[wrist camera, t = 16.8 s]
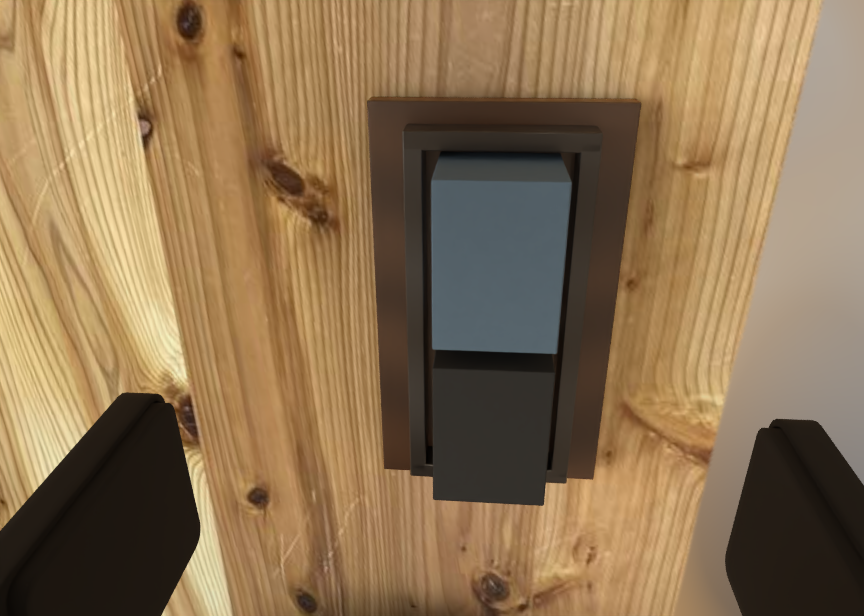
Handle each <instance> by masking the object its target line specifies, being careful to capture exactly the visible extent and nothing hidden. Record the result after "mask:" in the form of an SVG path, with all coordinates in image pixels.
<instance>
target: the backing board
mask: <svg viewBox="0 0 864 616" xmlns="http://www.w3.org/2000/svg"><path fill="white" fill-rule="evenodd" d="M367 108H368V130H369V151H370V173H371V194H372V216H373V238H374V259H375V281H376V303H377V324H378V346H379V368H380V389H381V411H382V433H383V454H384V469H398V470H410V474H411V475H412V476H429V477H433V390H432V368H433V362H434V356H435V349H433V348H432V232H431V180H432V177H433V174H434V171H435V168H436V164H437V161H438V158H439V155H440V152H499V153H560V154H561V156H562V159H563V161H564V164H565V167H566V169H567V172H568V174H569V177H570V179H571V182H572V190H571V201H570V212H569V224H568V235H567V246H566V258H565V269H564V280H563V291H562V303H561V314H560V325H559V337H558V348H557V353H556V354H552V356H553V362H554V369H555V383H554V394H553V406H552V417H551V428H550V440H549V451H548V462H547V473H546V483H566V482H567V478H575V479H593V477H594V469H595V461H596V454H597V446H598V438H599V430H600V422H601V414H602V407H603V399H604V391H605V383H606V375H607V367H608V360H609V352H610V344H611V336H612V328H613V320H614V313H615V305H616V297H617V289H618V281H619V273H620V266H621V258H622V250H623V242H624V234H625V227H626V219H627V211H628V203H629V195H630V187H631V180H632V172H633V164H634V156H635V148H636V140H637V133H638V125H639V117H640V109H641V102H639V101H638V100H637V99H587V98H450V97H371V98H370V99H369V100H368V101H367Z"/></svg>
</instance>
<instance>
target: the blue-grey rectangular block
mask: <svg viewBox="0 0 864 616" xmlns="http://www.w3.org/2000/svg"><path fill="white" fill-rule="evenodd" d="M571 190H572V182H571V179H570V177H569V174H568V172H567V169H566V167H565V164H564V161H563V159H562V156H561V154H560V153H499V152H440V155H439V158H438V161H437V164H436V168H435V171H434V174H433V177H432V180H431V232H432V348H433V349H435V350H462V351H490V352H517V353H544V354H556V353H557V348H558V337H559V325H560V314H561V303H562V291H563V280H564V269H565V258H566V246H567V235H568V224H569V212H570V201H571Z"/></svg>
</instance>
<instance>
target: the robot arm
mask: <svg viewBox="0 0 864 616" xmlns="http://www.w3.org/2000/svg"><path fill="white" fill-rule="evenodd" d="M199 537H200V520H199V516H198V511H197V507H196V503H195V498H194V494H193V489H192V485H191V480H190V476H189V471H188V467H187V463H186V458H185V454H184V449H183V445H182V440H181V436H180V431H179V427H178V423H177V418H176V414H175V410H174V407H173V406H172V404H170V403H165V401H164V399H163V397H162V396H161V395H159V394H150V393H122V394H121V395H120V396H118V397H117V399H116V400H115V401H114V402H113V403H112V404H111V405H110V406H109V408H108V409H107V410H106V411H105V412H104V413H103V414H102V416H101V417H100V418H99V419H98V420H97V421H96V422H95V424H94V425H93V426H92V427H91V428H90V429H89V430H88V432H87V433H86V434H85V435H84V436H83V437H82V438H81V440H80V441H79V442H78V443H77V444H76V445H75V446H74V448H73V449H72V450H71V451H70V452H69V453H68V454H67V456H66V457H65V458H64V459H63V460H62V461H61V462H60V463H59V465H58V466H57V467H56V468H55V469H54V470H53V471H52V473H51V474H50V475H49V476H48V477H47V478H46V479H45V481H44V482H43V483H42V484H41V485H40V486H39V487H38V489H37V490H36V491H35V492H34V493H33V494H32V495H31V497H30V498H29V499H28V500H27V501H26V502H25V503H24V505H23V506H22V507H21V508H20V509H19V510H18V511H17V513H16V514H15V515H14V516H13V517H12V518H11V519H10V521H9V522H8V523H7V524H6V525H5V526H4V527H3V528H2V530H1V531H0V616H161V615H162V613H163V611H164V609H165V607H166V605H167V603H168V601H169V599H170V597H171V595H172V593H173V591H174V589H175V588H176V586H177V584H178V582H179V580H180V578H181V576H182V574H183V572H184V570H185V568H186V566H187V564H188V562H189V560H190V558H191V556H192V554H193V553H194V551H195V549H196V546H197V544H198V541H199ZM725 564H726V572H727V576H728V579H729V582H730V585H731V587H732V590H733V592H734V595H735V597H736V600H737V602H738V605H739V608H740V611H741V613H742V616H864V485H863V484H862V483H861V481H860V480H859V478H858V477H857V475H856V474H855V473H854V471H853V470H852V468H851V467H850V466H849V464H848V463H847V461H846V460H845V458H844V457H843V456H842V454H841V453H840V451H839V450H838V449H837V447H836V446H835V444H834V443H833V442H832V440H831V439H830V437H829V436H828V435H827V433H826V432H825V430H824V429H823V428H822V426H821V425H820V424H819V423H818V422H816V421H813V420H791V419H790V420H789V419H775V420H773V421H772V422H771V424H770V426H769V428H761V429H760V430H759V431H758V434H757V436H756V440H755V444H754V448H753V451H752V455H751V459H750V463H749V467H748V471H747V474H746V478H745V482H744V486H743V490H742V494H741V497H740V501H739V505H738V509H737V512H736V516H735V521H734V524H733V528H732V532H731V535H730V539H729V543H728V547H727V551H726V558H725Z"/></svg>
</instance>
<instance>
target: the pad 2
mask: <svg viewBox="0 0 864 616" xmlns="http://www.w3.org/2000/svg"><path fill="white" fill-rule="evenodd" d="M554 383H555V369H554V362H553V356H552V354H544V353H517V352H490V351H462V350H435V356H434V362H433V368H432V390H433V499H434V500H446V501H465V502H483V503H502V504H520V505H539V506H543V505H544V496H545V485H546V473H547V462H548V451H549V440H550V428H551V417H552V406H553V394H554Z"/></svg>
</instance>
